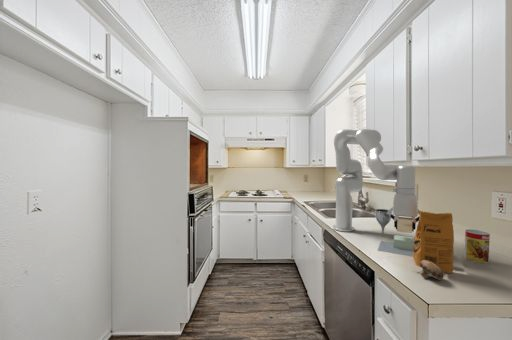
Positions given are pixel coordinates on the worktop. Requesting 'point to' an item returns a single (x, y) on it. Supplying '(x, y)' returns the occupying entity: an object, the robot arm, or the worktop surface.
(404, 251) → the building board
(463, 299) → the worktop surface
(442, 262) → the coffee package
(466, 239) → the canned food
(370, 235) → the worktop surface
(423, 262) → the mushroom
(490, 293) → the worktop surface
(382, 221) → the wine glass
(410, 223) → the maple cube
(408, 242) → the sage slab
